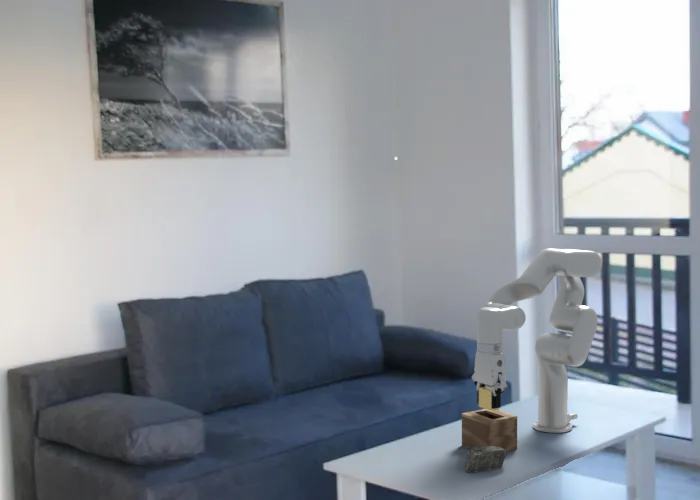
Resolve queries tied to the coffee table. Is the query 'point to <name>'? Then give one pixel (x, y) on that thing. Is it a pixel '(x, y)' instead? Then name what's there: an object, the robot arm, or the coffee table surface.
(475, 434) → the box
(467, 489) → the coffee table surface
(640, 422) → the coffee table surface
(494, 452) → the stone
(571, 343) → the robot arm
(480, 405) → the brushed brass block
